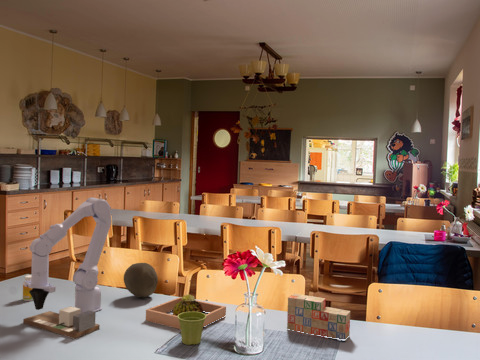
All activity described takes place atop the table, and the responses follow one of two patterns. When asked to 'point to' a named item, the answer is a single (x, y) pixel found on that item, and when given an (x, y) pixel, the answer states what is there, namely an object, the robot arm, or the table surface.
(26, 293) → the supplement bottle
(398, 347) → the table surface
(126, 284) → the dark brown ball
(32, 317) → the gauge track
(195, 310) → the cactus
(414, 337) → the table surface
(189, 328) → the plant pot
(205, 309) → the planter frame
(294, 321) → the stack of blocks
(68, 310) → the block
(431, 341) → the table surface
